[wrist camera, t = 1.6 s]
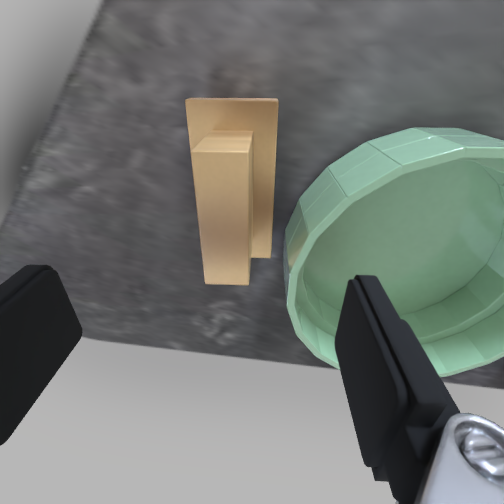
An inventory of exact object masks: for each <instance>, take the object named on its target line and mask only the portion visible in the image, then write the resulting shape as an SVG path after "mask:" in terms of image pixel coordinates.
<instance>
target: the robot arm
mask: <svg viewBox="0 0 504 504" xmlns="http://www.w3.org/2000/svg"><path fill="white" fill-rule="evenodd" d="M81 336H82V327H81V325H80V323H79V320H78V318H77V316H76V314H75V311H74V309H73V307H72V305H71V302H70V300H69V298H68V295H67V293H66V291H65V289H64V286H63V284H62V282H61V280H60V277H59V275H58V273H57V272H56V271H55V270H53V268H52V267H50V266H48V265H27V266H25V267H23V268H22V269H21V270H19V271H18V272H17V273H15V274H14V275H13V276H12V277H10V278H9V279H8V280H6V281H5V282H4V283H2V284H1V285H0V445H2V444H4V443H5V442H6V441H7V440H8V439H9V437H10V436H11V435H12V433H13V432H14V430H15V429H16V427H17V426H18V425H19V423H20V422H21V421H22V419H23V418H24V417H25V415H26V414H27V412H28V411H29V410H30V408H31V407H32V405H33V404H34V403H35V401H36V400H37V399H38V397H39V396H40V394H41V393H42V391H43V390H44V389H45V387H46V386H47V385H48V383H49V382H50V380H51V379H52V378H53V376H54V375H55V374H56V372H57V371H58V369H59V368H60V367H61V365H62V364H63V362H64V361H65V360H66V358H67V357H68V355H69V354H70V353H71V351H72V350H73V349H74V347H75V346H76V344H77V343H78V342H79V340H80V339H81ZM334 344H335V351H336V355H337V359H338V363H339V367H340V371H341V375H342V379H343V383H344V387H345V391H346V395H347V399H348V403H349V407H350V411H351V415H352V418H353V422H354V426H355V431H356V434H357V438H358V442H359V446H360V450H361V454H362V458H363V461H364V464H365V465H366V466H367V467H371V468H372V472H373V475H374V479H375V481H387V482H389V485H390V488H391V491H392V495H393V497H394V498H395V499H396V500H397V501H396V504H504V429H503V428H502V427H500V426H499V425H497V424H496V423H494V422H492V421H490V420H488V419H486V418H484V417H482V416H479V415H474V414H471V413H460V411H459V409H458V407H457V406H456V404H455V402H454V401H453V399H452V397H451V396H450V394H449V392H448V390H447V389H446V387H445V385H444V383H443V382H442V380H441V378H440V377H439V375H438V373H437V371H436V370H435V368H434V366H433V365H432V363H431V361H430V359H429V358H428V356H427V354H426V352H425V351H424V349H423V347H422V346H421V344H420V342H419V340H418V339H417V337H416V335H415V334H414V332H413V330H412V328H411V327H410V325H409V324H408V323H407V321H405V320H404V319H400V317H399V315H398V313H397V312H396V310H395V308H394V306H393V304H392V303H391V301H390V299H389V297H388V295H387V294H386V292H385V290H384V288H383V287H382V285H381V283H380V281H379V279H378V278H377V276H375V275H356V276H355V277H354V279H349V281H348V283H347V288H346V292H345V296H344V301H343V305H342V309H341V314H340V318H339V322H338V327H337V331H336V335H335V342H334Z"/></svg>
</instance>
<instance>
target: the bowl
mask: <svg viewBox="0 0 504 504" xmlns="http://www.w3.org/2000/svg"><path fill="white" fill-rule="evenodd" d="M283 270H284V282H285V294H286V306H287V310H288V313H289V316H290V319H291V321H292V324H293V327H294V330H295V333H296V335H297V336H298V338H299V339H300V340H301V341H302V342H303V343H304V344H305V345H306V346H307V348H308V349H309V350H310V351H311V352H312V353H313V354H314V355H315V356H316V357H317V358H319V359H321V360H323V361H324V362H326V363H328V364H330V365H332V366H333V367H335V368H337V369H339V370H340V367H339V363H338V359H337V355H336V351H335V344H334V342H335V335H336V331H337V327H338V322H339V318H340V314H341V309H342V305H343V301H344V296H345V292H346V288H347V283H348V281H349V279H354V277H355V276H356V275H375V276H377V278H378V279H379V281H380V283H381V285H382V287H383V288H384V290H385V292H386V294H387V295H388V297H389V299H390V301H391V303H392V304H393V306H394V308H395V310H396V312H397V313H398V315H399V317H400V319H404V320H405V321H407V323H408V324H409V325H410V327H411V328H412V330H413V332H414V334H415V335H416V337H417V339H418V340H419V342H420V344H421V346H422V347H423V349H424V351H425V352H426V354H427V356H428V358H429V359H430V361H431V363H432V365H433V366H434V368H435V370H436V371H437V373H438V375H439V377H445V376H450V375H454V374H457V373H460V372H463V371H467V370H470V369H473V368H476V367H480V366H483V365H486V364H488V363H491V362H493V361H495V360H497V359H499V358H501V357H503V356H504V141H503V140H500V139H496V138H492V137H489V136H485V135H482V134H478V133H474V132H471V131H467V130H464V129H460V128H409V129H406V130H403V131H400V132H396V133H393V134H390V135H386V136H383V137H380V138H376V139H373V140H370V141H367V142H365V143H363V144H362V145H360V146H359V147H357V148H355V149H354V150H352V151H351V152H349V153H348V154H346V155H345V156H343V157H341V158H340V159H338V160H337V161H335V162H334V163H332V164H330V165H329V166H328V167H327V168H326V169H325V170H324V171H323V172H322V173H321V174H320V175H319V176H318V178H317V179H316V180H315V181H314V182H313V183H312V184H311V185H310V187H309V188H308V189H307V190H306V191H305V192H304V193H303V195H302V196H301V197H300V199H299V200H298V202H297V205H296V207H295V209H294V211H293V213H292V216H291V218H290V220H289V222H288V225H287V227H286V229H285V235H284V249H283Z"/></svg>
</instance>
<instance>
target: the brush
mask: <svg viewBox="0 0 504 504" xmlns="http://www.w3.org/2000/svg"><path fill="white" fill-rule="evenodd" d="M278 104H279V101H278V99H271V98H189V99H186V100H185V105H186V114H187V123H188V132H189V142H190V151H191V160H192V169H193V178H194V188H195V197H196V206H197V215H198V225H199V234H200V243H201V252H202V260H203V269H204V278H205V284H223V285H249V279H250V267H251V258H271V247H272V226H273V206H274V185H275V165H276V144H277V124H278Z"/></svg>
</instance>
